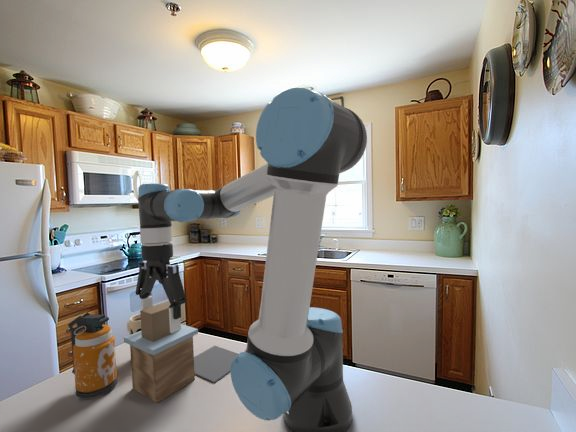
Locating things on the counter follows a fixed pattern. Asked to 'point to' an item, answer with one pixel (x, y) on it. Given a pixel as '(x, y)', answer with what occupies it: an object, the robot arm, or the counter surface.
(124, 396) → the counter surface
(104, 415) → the counter surface
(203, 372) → the mat
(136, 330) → the character mug
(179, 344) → the box
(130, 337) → the lid
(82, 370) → the canister
